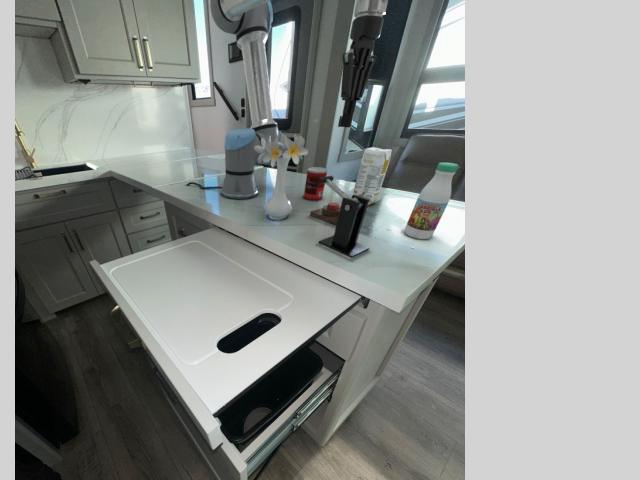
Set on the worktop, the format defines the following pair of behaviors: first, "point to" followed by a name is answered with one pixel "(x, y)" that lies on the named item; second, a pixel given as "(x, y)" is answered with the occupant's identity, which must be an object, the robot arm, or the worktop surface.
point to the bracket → (348, 228)
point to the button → (333, 206)
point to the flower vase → (280, 170)
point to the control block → (326, 215)
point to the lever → (336, 188)
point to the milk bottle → (431, 203)
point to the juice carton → (372, 173)
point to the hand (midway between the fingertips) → (345, 126)
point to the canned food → (314, 183)
